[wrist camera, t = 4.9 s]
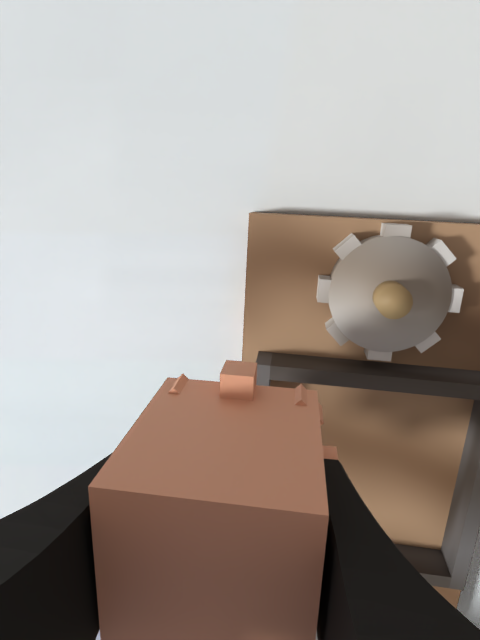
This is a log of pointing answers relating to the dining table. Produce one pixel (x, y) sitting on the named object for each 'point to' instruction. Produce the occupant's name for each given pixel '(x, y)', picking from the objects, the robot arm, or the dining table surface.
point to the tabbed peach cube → (214, 514)
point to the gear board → (381, 365)
